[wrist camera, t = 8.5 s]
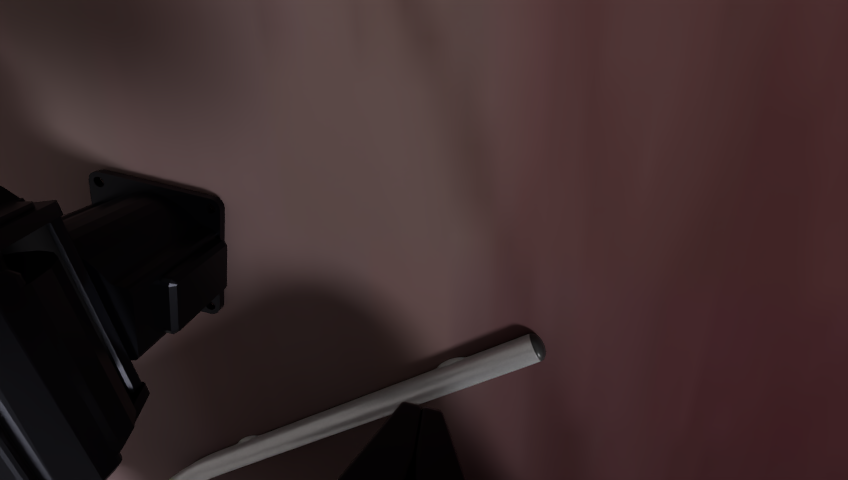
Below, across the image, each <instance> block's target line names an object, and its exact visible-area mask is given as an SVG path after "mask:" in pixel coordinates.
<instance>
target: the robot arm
mask: <svg viewBox="0 0 848 480" xmlns="http://www.w3.org/2000/svg"><path fill="white" fill-rule="evenodd" d="M100 178H101V179H102V180H103V182H104V183H103V182H102V181H101V179H100ZM89 185H90V193H91V200H92V204H91V205H89V206H86V207H84V208H82V209H79V210H77V211H74V212H72V213H69V214H67V215H64V216H62V215H63V213H62V211H61V209H60V206H59V204H58V202H57V200H51V201H43V202H34V203H33V202H32V201H27V202H25V200H24V198H19V197H17V196H16V195H14V194H13V193H11V192H10V191H8V190H7V189H5V188H4V187H2V186H0V480H107V478H108V477H109V476H110V475H111V474H112V473H113V472H114V471H115V470H116V469H117V467H118V466H119V464H120V463H121V461H122V456H121V454H120V451H121V449H122V448H123V446H124V444H125V443H126V441H127V439H128V437H129V436H130V434H131V432H132V430H133V429H134V425H135V421H136V420H137V418H138V416H139V414H140V412H141V410H142V408H143V406H144V404H145V402H146V400H147V398H148V396H149V394H150V393H149V390H148V388H147V386H146V384H145V383H144V382H141V380H140V378H139V376H138V374H137V372H136V370H135V368H134V366H133V364H132V362H131V360H137V359H138V358H139V357H140V356H142V355H143V354H144V353H145V352H146V351H147V350H148V349H149V348H150V347H152V346H153V345H154V344H155V343H156V342H157V341H158V340H159V339H160V338H162V337H163V336H164V335H165V334H166V333H171V334H175V333H177V332H178V331H180V330H181V329H182V328H183V327H184V326H185V325H186V324H187V323H189V322H190V321H191V320H192V319H193V318H194V317H195V316H196V315H197V314H198V313H199V312H200V311H202V312H206V313H210V314H215V313H217V312H218V311H219V310H220V309H221V308H222V307H223V305H224V289H225V288H226V286H227V245H226V242H225V241H224V232H225V207H224V204H223V202H222V200H220V199H219V198H218V197H215V196H212V195H208V194H204V193H199V192H195V191H191V190H187V189H183V188H179V187H174V186H170V185H166V184H162V183H158V182H154V181H149V180H145V179H141V178H137V177H133V176H128V175H124V174H120V173H116V172H112V171H108V170H98V171H95V172H92V173H91V174H90V175H89ZM209 204H212V205H213V206H214V207H215V211H214V210H212V209H211V208H210V205H209ZM61 216H62V217H61ZM211 302H212V303H214V304H215V306H214V305H212V304H211ZM421 409H422V410H421ZM338 480H465V477H464V474H463V471H462V468H461V465H460V462H459V459H458V456H457V453H456V450H455V447H454V444H453V441H452V439H451V436H450V433H449V430H448V427H447V424H446V421H445V418H444V415H443V413H442V412H441V411H440V410H437V409H433V408H429V407H423V408H421V406H420V405H418V404H414V403H410V402H406V401H404V402H402V403H401V404H400V405H399V406H398V407H397V408H396V410H395V411H394V412H393V413H392V414H391V416H390V417H389V418H388V419H387V421H386V422H385V423H384V424H383V425H382V427H381V428H380V429H379V430H378V431H377V433H376V434H375V435H374V436H373V437H372V439H371V440H370V441H369V442H368V443H367V445H366V446H365V447H364V448H363V450H362V451H361V452H360V453H359V454H358V456H357V457H356V458H355V459H354V460H353V462H352V463H351V464H350V465H349V466H348V468H347V469H346V470H345V471H344V472H343V474H342V475H341V476H340V477H339V478H338Z"/></svg>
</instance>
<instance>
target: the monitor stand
mask: <svg viewBox="0 0 848 480" xmlns="http://www.w3.org/2000/svg"><path fill="white" fill-rule="evenodd" d="M545 355H546V350H545V346H544V343H543V341H542V340H541V338H540V337H539V336H538V335H536V334H534V333H530V334H527V335H524V336H522V337H519V338H516V339H514V340H511V341H508V342H506V343H503V344H500V345H498V346H495V347H492V348H490V349H487V350H484V351H482V352H479V353H477V354H474V355H471V356H469V357H457V358H452V359H449V360H447V361H445V362H443V363H441V364H440V365H439V366H438V367H437V368H436V369H434V370H432V371H429V372H426V373H424V374H421V375H418V376H416V377H413V378H410V379H408V380H405V381H402V382H400V383H397V384H394V385H392V386H389V387H387V388H384V389H381V390H379V391H376V392H373V393H371V394H368V395H365V396H363V397H360V398H357V399H355V400H352V401H349V402H347V403H344V404H342V405H339V406H336V407H334V408H331V409H328V410H326V411H323V412H320V413H318V414H315V415H312V416H310V417H307V418H304V419H302V420H299V421H297V422H294V423H291V424H289V425H286V426H283V427H281V428H278V429H275V430H273V431H270V432H267V433H265V434H262V435H260V436H257V435H252V436H247V437H245V438H243V439H241V440H240V441H239V442H238V444H236V445H233V446H230V447H228V448H225V449H222V450H220V451H217V452H215V453H212V454H210V455H208V456H206V457H204V458H202V459H200V460H198V461H196V462H194V463H193V464H191V465H189V466H188V467H186V468H184V469H183V470H181V471H180V472H178V473H177V474H176V475H174V476H173V477H171V478H170V479H169V480H209V479H211V478H214V477H216V476H219V475H221V474H224V473H227V472H230V471H233V470H236V469H238V468H241V467H244V466H247V465H250V464H252V463H255V462H258V461H261V460H264V459H267V458H269V457H272V456H275V455H278V454H281V453H284V452H286V451H289V450H292V449H295V448H298V447H300V446H303V445H306V444H309V443H312V442H315V441H317V440H320V439H323V438H326V437H329V436H332V435H334V434H337V433H340V432H343V431H346V430H348V429H351V428H354V427H357V426H360V425H363V424H365V423H368V422H371V421H374V420H377V419H380V418H382V417H385V416H388V415H391V414H392V413H393V412H394V411H395V410H396V408H397V407H398V406H399V405H400V404H401V403H402V402H404V401H406V402H410V403H414V404H418V405H419V404H422V403H425V402H427V401H430V400H433V399H436V398H439V397H442V396H444V395H447V394H450V393H453V392H456V391H459V390H461V389H464V388H467V387H470V386H473V385H475V384H478V383H481V382H484V381H487V380H490V379H492V378H495V377H498V376H501V375H504V374H507V373H509V372H512V371H515V370H518V369H521V368H523V367H526V366H529V365H532V364H535V363H538V362H540V361H542V360H544V358H545Z"/></svg>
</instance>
